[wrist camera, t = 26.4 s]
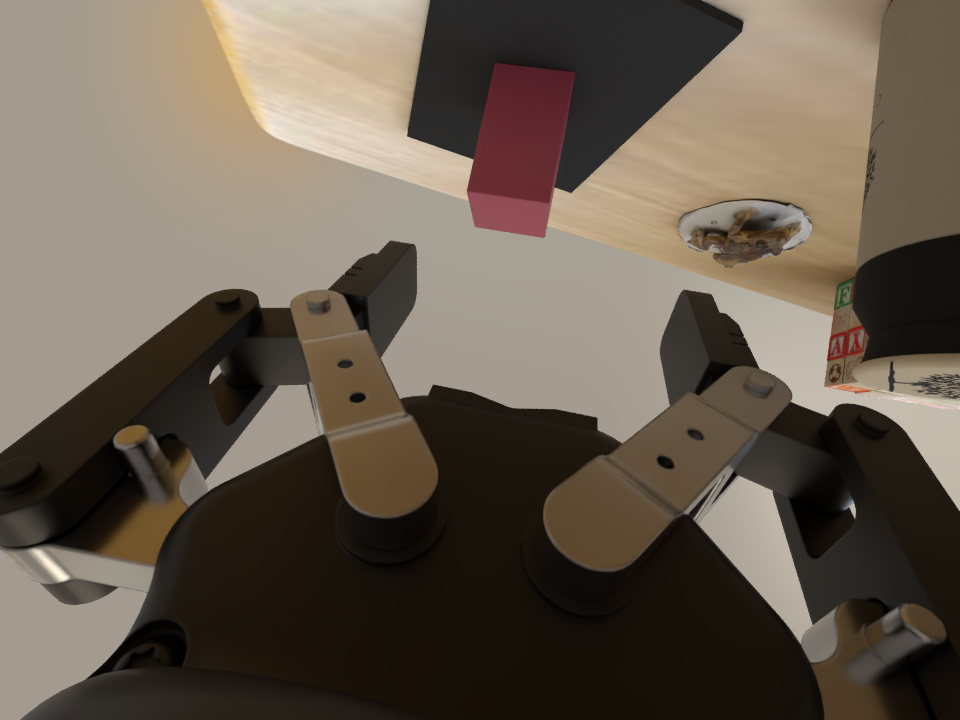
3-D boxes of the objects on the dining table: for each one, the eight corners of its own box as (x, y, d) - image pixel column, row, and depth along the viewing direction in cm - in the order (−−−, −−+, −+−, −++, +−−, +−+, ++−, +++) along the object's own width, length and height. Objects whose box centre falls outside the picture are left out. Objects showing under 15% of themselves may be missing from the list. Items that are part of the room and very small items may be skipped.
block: (494, 62, 29) (466, 191, 28) (575, 71, 28) (549, 203, 27) (498, 116, 34) (474, 227, 33) (566, 125, 33) (544, 238, 32)
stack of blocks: (1121, 299, 43) (1117, 427, 41) (1049, 315, 49) (1043, 427, 47) (872, 267, 46) (860, 383, 45) (833, 286, 52) (822, 388, 51)
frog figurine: (728, 184, 37) (722, 226, 37) (850, 221, 39) (845, 262, 39) (654, 233, 49) (648, 267, 48) (751, 261, 50) (746, 293, 50)
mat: (452, -123, 20) (449, -111, 20) (743, 21, 24) (742, 31, 23) (408, 130, 39) (406, 136, 39) (572, 187, 43) (571, 193, 43)
